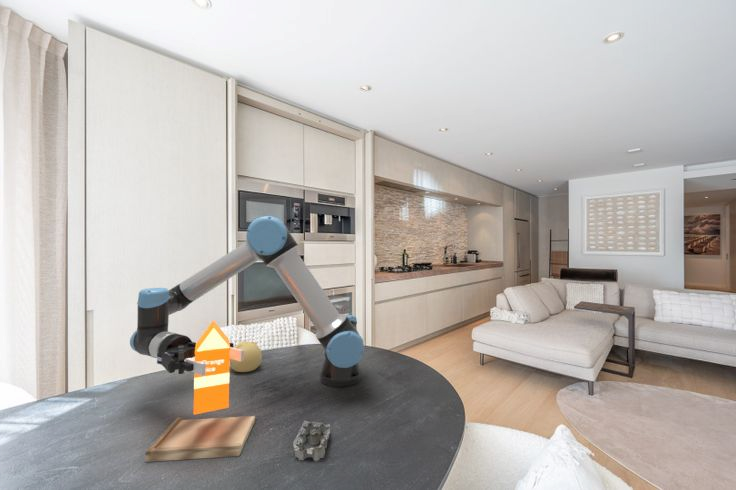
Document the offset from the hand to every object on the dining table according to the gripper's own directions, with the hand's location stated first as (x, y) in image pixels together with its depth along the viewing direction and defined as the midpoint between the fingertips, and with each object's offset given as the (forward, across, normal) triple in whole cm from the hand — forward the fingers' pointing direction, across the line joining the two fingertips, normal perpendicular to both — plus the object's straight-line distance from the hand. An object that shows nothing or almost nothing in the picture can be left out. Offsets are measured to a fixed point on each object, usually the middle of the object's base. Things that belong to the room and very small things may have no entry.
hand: (224, 362), depth 75 cm
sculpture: (-33, -34, -20) cm, 51 cm away
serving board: (-5, +1, -20) cm, 20 cm away
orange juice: (-5, 0, -11) cm, 12 cm away
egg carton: (+20, -9, -20) cm, 30 cm away
